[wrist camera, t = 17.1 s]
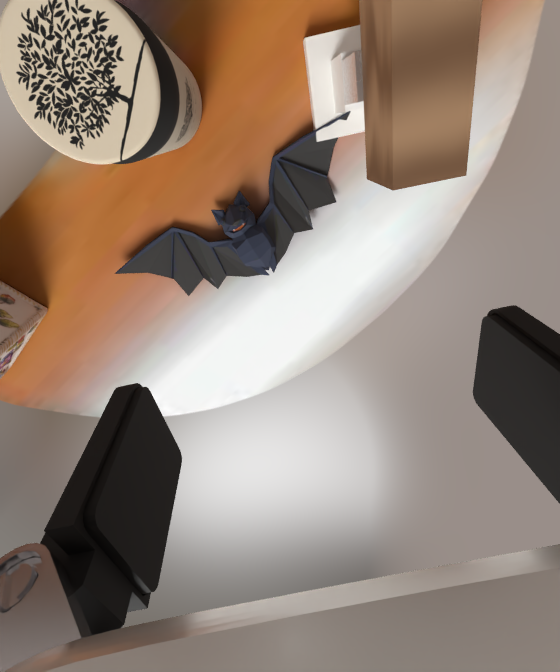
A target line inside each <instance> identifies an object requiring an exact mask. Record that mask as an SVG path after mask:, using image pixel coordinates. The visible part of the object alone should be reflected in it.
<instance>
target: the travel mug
mask: <svg viewBox="0 0 560 672" xmlns="http://www.w3.org/2000/svg"><path fill="white" fill-rule="evenodd" d="M0 72H1V76H2V79H3V82H4V85H5V87H6V89H7V92H8V94H9V96H10V98H11V100H12V102H13V104H14V106H15V107H16V109H17V111H18V112H19V113H20V115H21V116H22V118H23V119H24V121H25V122H26V123H27V124H28V125H29V126H30V128H31V129H32V130H33V131H34V132H35V133H36V134H37V135H38V136H39V137H40V138H41V139H42V140H44V141H45V142H46V143H47V144H49V145H50V146H51V147H53V148H54V149H56V150H57V151H59V152H61V153H63V154H64V155H67V156H69V157H71V158H73V159H76V160H79V161H82V162H86V163H92V164H111V163H113V164H127V163H133V162H136V161H140V160H143V159H146V158H149V157H152V156H155V155H159V154H162V153H165V152H168V151H171V150H175V149H178V148H180V147H182V146H184V145H185V144H186V143H188V142H189V141H190V140H191V139H192V137H193V136H194V135H195V133H196V131H197V129H198V127H199V124H200V121H201V116H202V100H201V94H200V90H199V87H198V85H197V82H196V80H195V78H194V76H193V74H192V73H191V71H190V70H189V69H188V67H187V66H186V65H185V64H184V63H183V62H182V61H181V60H180V59H179V57H178V56H177V55H176V54H175V53H174V52H173V51H172V50H171V49H170V48H169V47H168V46H167V45H166V44H165V43H164V42H163V41H162V40H161V39H160V38H159V37H158V36H157V35H156V34H155V33H154V32H153V31H152V30H151V29H150V28H149V27H148V26H147V25H146V24H145V23H144V22H143V21H142V20H141V19H140V18H139V17H138V16H137V15H136V14H135V13H133V12H132V11H131V10H130V9H128V8H127V7H125V6H124V5H123V4H121V3H119V2H117V1H115V0H9V1H8V3H7V5H6V6H5V8H4V10H3V12H2V15H1V18H0Z"/></svg>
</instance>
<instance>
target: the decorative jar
mask: <svg viewBox="0 0 560 672" xmlns="http://www.w3.org/2000/svg"><path fill="white" fill-rule="evenodd" d="M47 311H48V309H47V308H46V307H44V306H43V305H41V304H39V303H37V302H36V301H34V300H32V299H31V298H29V297H27V296H26V295H24V294H22V293H21V292H19V291H17V290H15V289H14V288H12V287H10V286H9V285H7V284H5V283H3V282H2V281H0V379H1V378H2V377H3V376H4V374H5V373H6V372H7V371H8V370H9V369H10V367H11V366H12V364H13V363H14V362H15V360H16V358H17V357H18V355H19V354H20V352H21V351H22V350H23V348H24V346H25V345H26V344H27V342H28V341H29V339H30V338H31V336H32V335H33V333H34V332H35V330H36V328H37V327H38V325H39V324H40V322H41V321H42V319H43V318H44V316H45V315H46V313H47Z"/></svg>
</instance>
